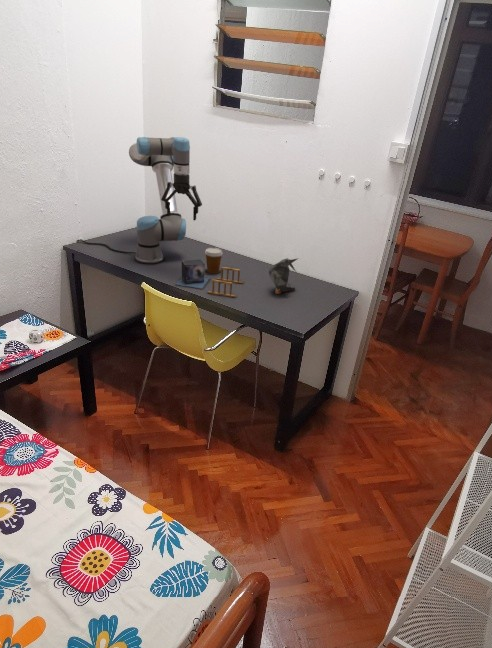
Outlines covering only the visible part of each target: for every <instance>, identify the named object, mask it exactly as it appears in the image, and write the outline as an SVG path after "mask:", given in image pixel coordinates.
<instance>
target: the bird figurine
mask: <svg viewBox="0 0 492 648" xmlns="http://www.w3.org/2000/svg"><path fill="white" fill-rule="evenodd" d="M297 260H299V257H298V258H294V259H293V258H292V259H290V258H289V257H287V258H284V259H281V260H280V261H278V262H276V263H275V264H273V265H272V267H270V268H269V271H268V275H269V279H270V280H271V282H272V283H273V285H274V286H275V291H274V293H275V294H277V295H280V294H282V293H284V292H285V293H286V292H294V291H296V287H295V286H292V285H291V284H289V283H288V281H289V276H290V268H291V269H292V270H293V271H294V272H295V273H296V274H297V271H296V269H295V267H294V265H293V263H294V262H296V261H297Z"/></svg>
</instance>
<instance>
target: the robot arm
mask: <svg viewBox="0 0 492 648" xmlns="http://www.w3.org/2000/svg"><path fill="white" fill-rule="evenodd" d="M190 151H191V145H190V140H189V138H187V137H184V136H183V137H182V136H177V137H175V136H172V137H149V136H148V137H146V136H139V137H137V138H136V142H135V143H133V144H132V145H131V146H130V147H129V149H128V157H130V160H131V161H132V162H134V163H135V164H137V165H140V166H143V167H151V170H152V171H153V173H155V177H156V182H157V190H158V195H159V202H160V207H161V213H162V214H161V215H160V217H158V216H156V215H144V216H142V217H139V218H138V219H137V220H136V236H137V237H136V238H137V248H136V251H124V250H117V249H115V248H111V247H110V246H109V245H108V244H107V243H100V242H89V241H85V240H83V239H80V240H79V239H76V242H77V243H78V242H82V243H84V244H88V245H98V246H99V245H100V246H101V245H102V246H105V247H107V248H108V249H109V250H111V251H114V252H118V253H122V254H135V257H134V258H135V261H136V262H137V263H140V264H144V265H155V264H156V265H157V264H160V263H162V262H163V261H164V254H163V252H162V249H161V246H160V242H172V241H174V242H175V241H176V242H177V241H182V240H184V239H185V237H186V235H187V222H186V218H183V217H182V214H181V213H180V212H179V211H178V204H177V198H176V194H181V195H186V196H187V198H188V199H189V200H190V202H191V204H192V205H193V208H192V209H193V210H192V211H193V214H192V215H193V217H192V220H193V222H194V221H197V214H199V208H200V207H202V206H203V203H202V201H201V198H200V195H199V193H198V191H197V186H196V185H195V184H194V185H191V184H190V162H191V161H190V159H191V158H190V153H191V152H190ZM172 171H173V175H172ZM191 191H192V192H191Z"/></svg>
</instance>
